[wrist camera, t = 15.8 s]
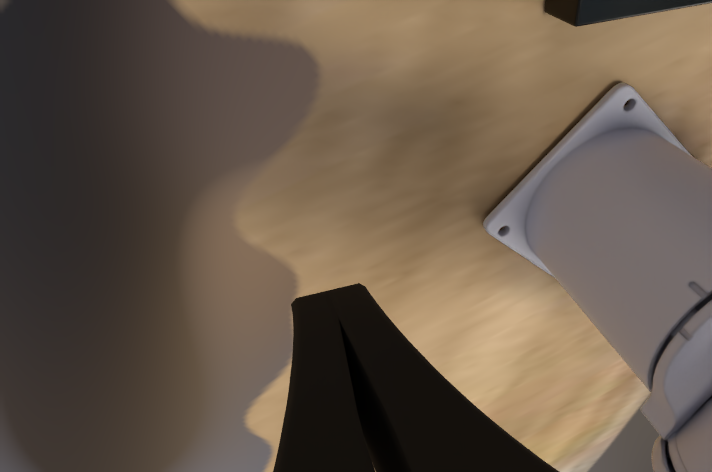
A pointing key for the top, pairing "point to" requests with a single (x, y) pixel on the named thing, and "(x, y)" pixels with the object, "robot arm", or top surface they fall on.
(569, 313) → the top surface
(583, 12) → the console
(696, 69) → the top surface
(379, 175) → the top surface
